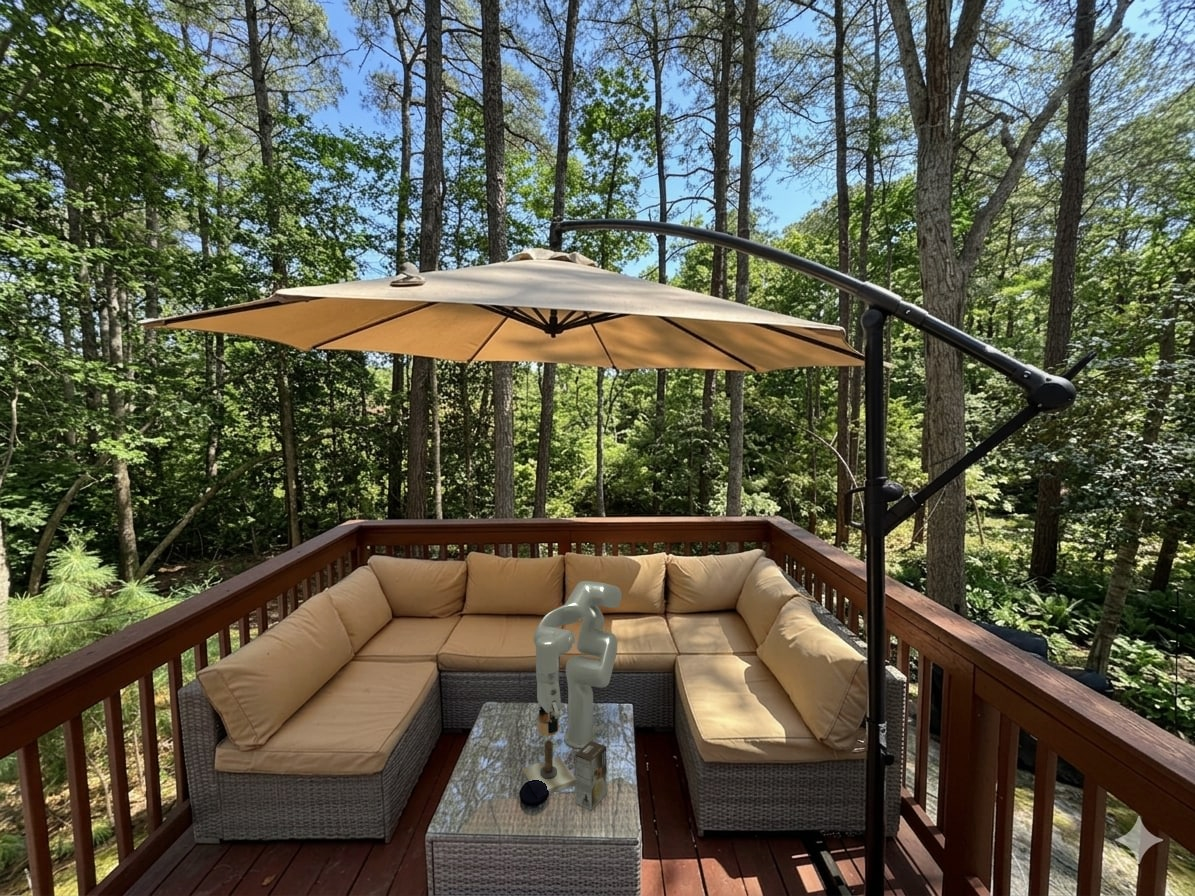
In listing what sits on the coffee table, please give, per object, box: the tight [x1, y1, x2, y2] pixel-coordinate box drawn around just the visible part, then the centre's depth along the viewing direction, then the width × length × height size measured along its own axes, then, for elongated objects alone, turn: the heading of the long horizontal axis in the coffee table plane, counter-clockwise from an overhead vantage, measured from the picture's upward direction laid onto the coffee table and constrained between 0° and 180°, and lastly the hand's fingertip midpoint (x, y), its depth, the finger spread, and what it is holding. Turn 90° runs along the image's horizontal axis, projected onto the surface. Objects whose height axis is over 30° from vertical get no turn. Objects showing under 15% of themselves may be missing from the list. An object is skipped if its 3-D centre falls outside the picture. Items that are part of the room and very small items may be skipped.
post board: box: [521, 739, 576, 795], centre depth 176 cm, size 14×14×13 cm
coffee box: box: [575, 741, 608, 811], centre depth 166 cm, size 9×6×16 cm
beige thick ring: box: [536, 712, 560, 737], centre depth 174 cm, size 7×7×4 cm
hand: (548, 725), depth 174 cm, fingers closed on beige thick ring, 7 cm apart
